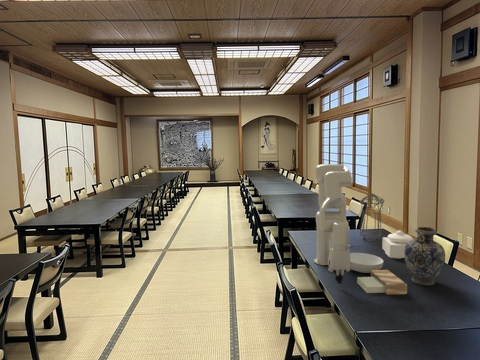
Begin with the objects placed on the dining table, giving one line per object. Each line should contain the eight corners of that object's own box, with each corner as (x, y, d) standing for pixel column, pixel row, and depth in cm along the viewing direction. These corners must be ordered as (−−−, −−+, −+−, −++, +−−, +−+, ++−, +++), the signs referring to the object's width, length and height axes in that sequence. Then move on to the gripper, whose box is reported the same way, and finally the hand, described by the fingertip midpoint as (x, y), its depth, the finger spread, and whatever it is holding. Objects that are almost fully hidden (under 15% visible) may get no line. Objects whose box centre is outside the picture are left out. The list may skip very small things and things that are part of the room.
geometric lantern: (383, 238, 256) (385, 192, 252) (379, 244, 243) (381, 196, 238) (361, 235, 265) (363, 191, 260) (356, 241, 251) (358, 194, 247)
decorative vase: (408, 270, 192) (411, 222, 188) (446, 279, 180) (450, 227, 176) (397, 283, 175) (400, 230, 172) (438, 293, 163) (443, 236, 160)
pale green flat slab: (357, 282, 176) (357, 277, 176) (387, 282, 177) (387, 276, 177) (367, 293, 164) (367, 287, 164) (399, 292, 165) (399, 286, 165)
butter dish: (409, 250, 228) (410, 227, 227) (419, 259, 211) (421, 234, 209) (382, 249, 231) (382, 226, 229) (389, 258, 213) (390, 233, 211)
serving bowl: (386, 278, 182) (387, 266, 181) (345, 275, 186) (346, 263, 185) (379, 264, 202) (379, 253, 201) (342, 262, 206) (342, 251, 205)
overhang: (370, 280, 179) (371, 270, 179) (388, 279, 180) (389, 269, 179) (386, 294, 162) (387, 283, 162) (406, 294, 163) (407, 283, 162)
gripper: (351, 243, 172) (350, 278, 174) (322, 244, 171) (321, 279, 174) (357, 248, 164) (356, 285, 167) (327, 249, 164) (326, 286, 166)
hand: (338, 282), depth 170 cm, fingers closed
